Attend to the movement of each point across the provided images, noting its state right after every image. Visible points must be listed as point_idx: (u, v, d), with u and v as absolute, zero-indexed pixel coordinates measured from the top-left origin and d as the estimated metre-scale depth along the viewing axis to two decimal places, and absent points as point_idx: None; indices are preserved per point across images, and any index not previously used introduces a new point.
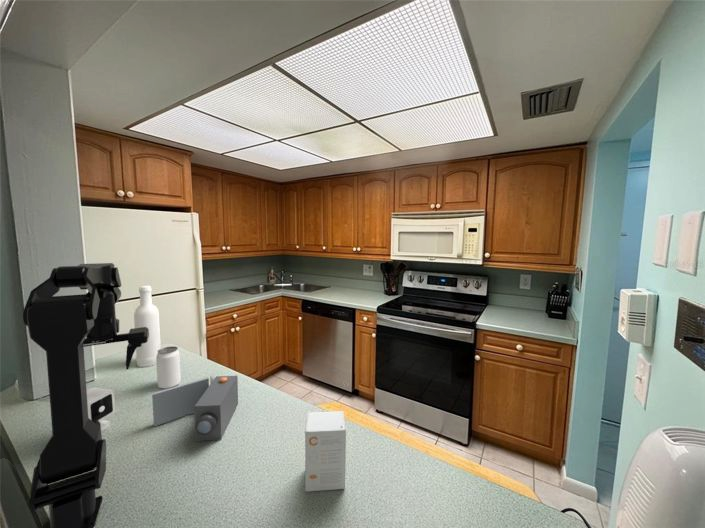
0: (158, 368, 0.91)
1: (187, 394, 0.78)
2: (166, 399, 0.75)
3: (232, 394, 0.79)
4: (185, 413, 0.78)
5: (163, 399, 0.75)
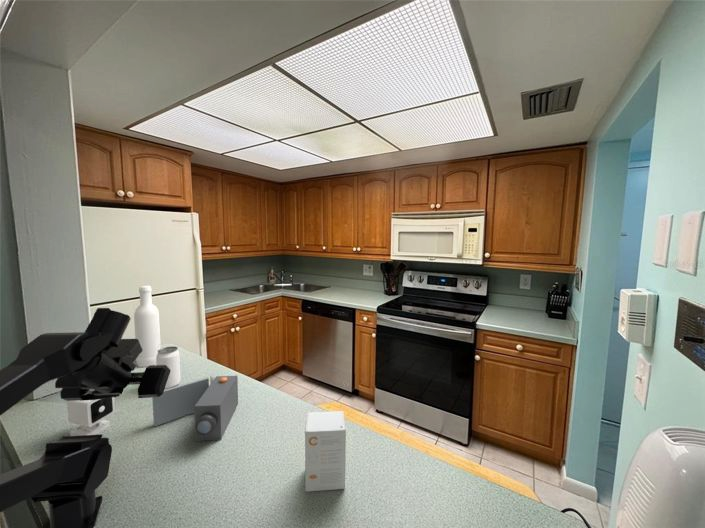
0: None
1: (187, 394, 0.78)
2: (166, 399, 0.75)
3: (232, 394, 0.79)
4: (185, 413, 0.78)
5: (163, 399, 0.75)
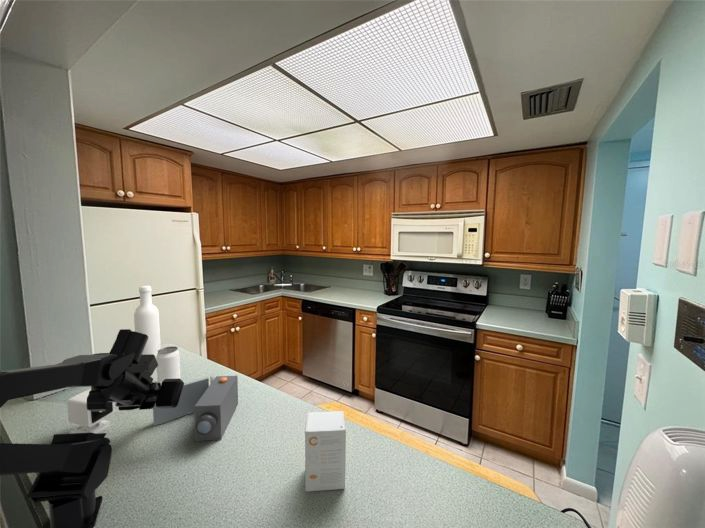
0: (158, 368, 0.91)
1: (187, 394, 0.78)
2: None
3: (232, 394, 0.79)
4: (185, 413, 0.79)
5: None
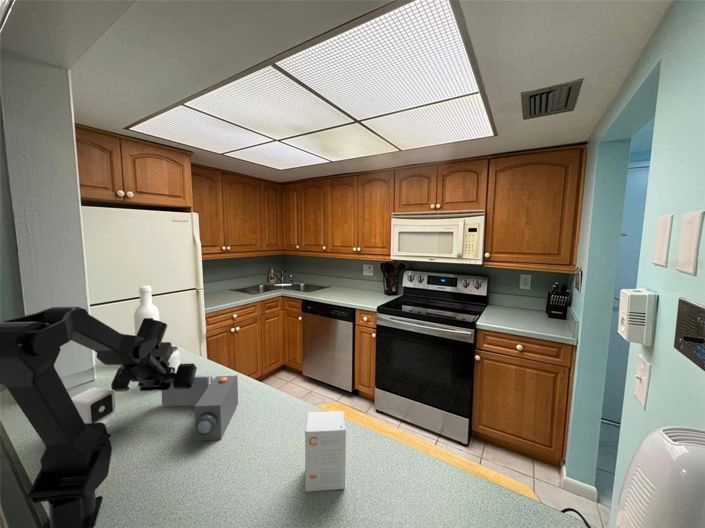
0: None
1: None
2: (171, 384, 0.82)
3: (232, 394, 0.79)
4: (187, 403, 0.83)
5: None
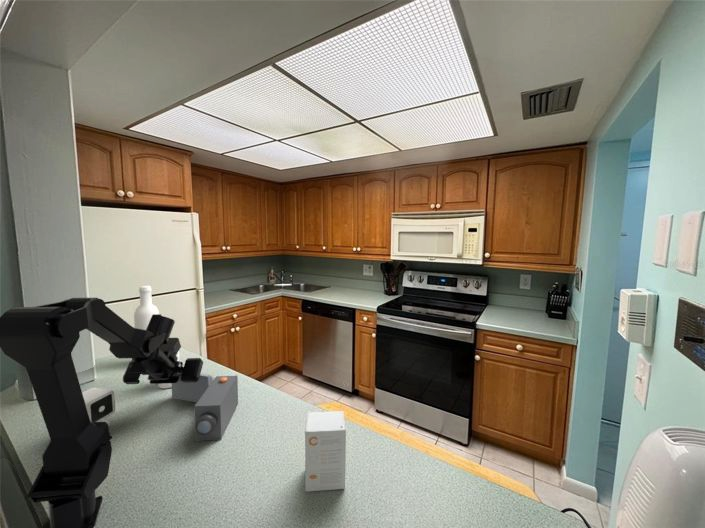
0: None
1: (192, 382, 0.84)
2: (179, 379, 0.85)
3: (232, 394, 0.79)
4: (191, 399, 0.85)
5: None
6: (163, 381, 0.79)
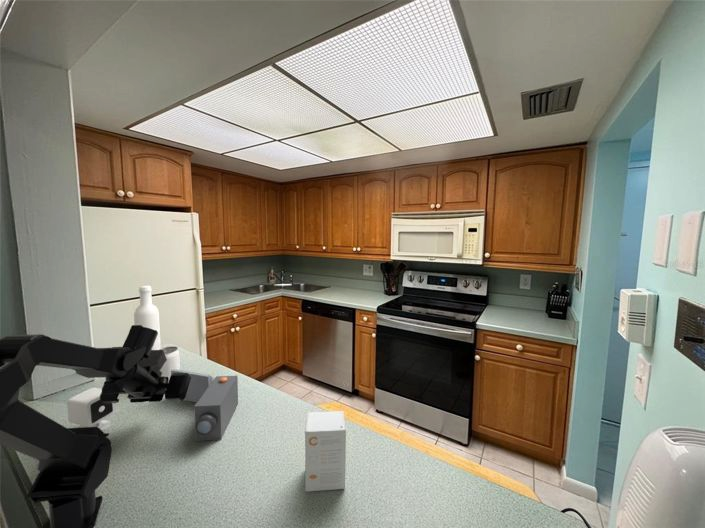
0: None
1: (192, 382, 0.84)
2: None
3: (232, 394, 0.79)
4: (191, 399, 0.85)
5: None
6: (146, 399, 0.71)
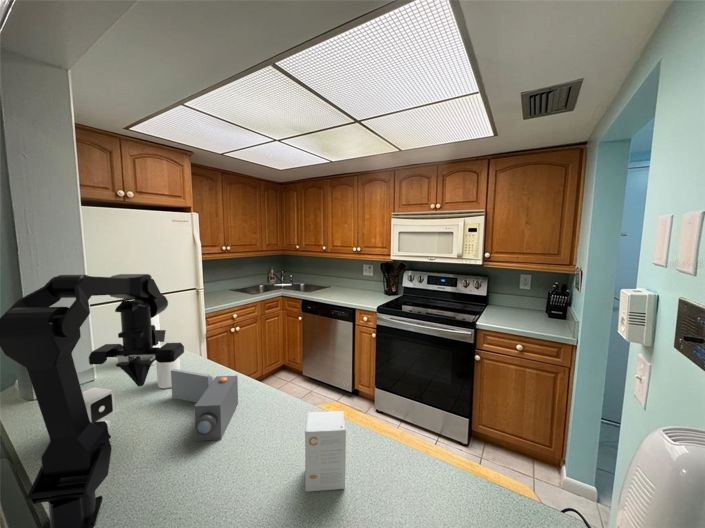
0: (158, 368, 0.91)
1: (192, 382, 0.84)
2: (179, 379, 0.85)
3: (232, 394, 0.79)
4: (191, 399, 0.85)
5: (177, 378, 0.85)
6: (131, 367, 0.68)
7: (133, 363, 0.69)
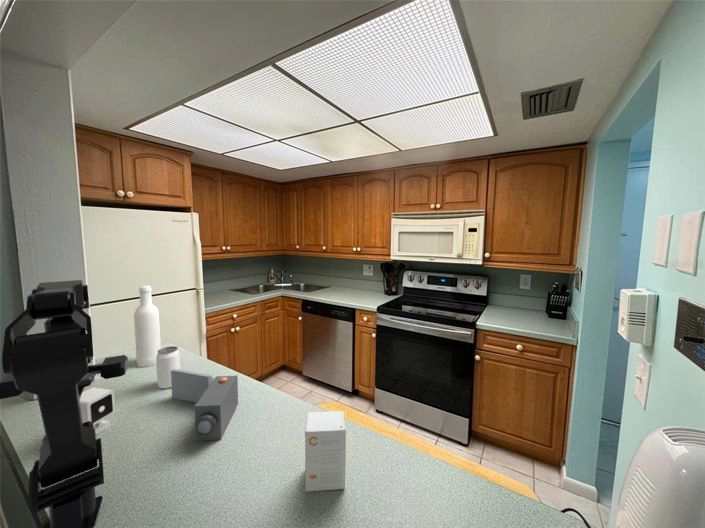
0: (158, 368, 0.91)
1: (192, 382, 0.84)
2: (179, 379, 0.85)
3: (232, 394, 0.79)
4: (191, 399, 0.85)
5: (177, 378, 0.85)
6: None
7: None
